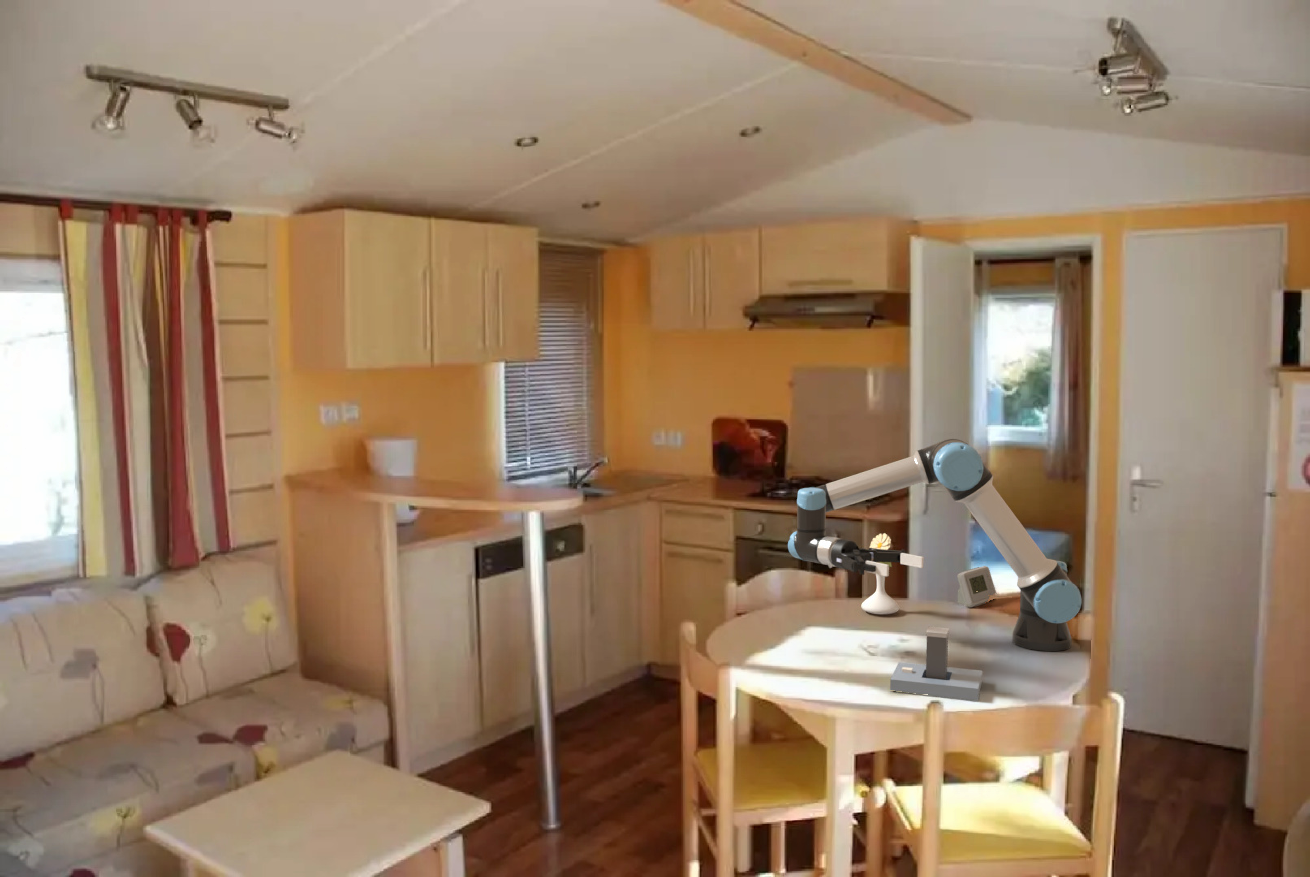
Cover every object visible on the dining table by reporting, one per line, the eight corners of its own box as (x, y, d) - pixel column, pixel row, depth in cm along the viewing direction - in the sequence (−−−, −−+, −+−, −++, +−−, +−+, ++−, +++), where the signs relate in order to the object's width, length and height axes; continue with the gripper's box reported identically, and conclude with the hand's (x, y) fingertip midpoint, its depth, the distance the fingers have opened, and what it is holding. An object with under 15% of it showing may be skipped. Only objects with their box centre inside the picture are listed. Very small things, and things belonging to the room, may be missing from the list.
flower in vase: (856, 608, 330) (857, 528, 327) (892, 607, 331) (893, 527, 329) (869, 619, 317) (870, 536, 314) (906, 618, 318) (908, 535, 316)
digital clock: (968, 609, 328) (969, 575, 327) (946, 603, 336) (947, 570, 334) (1005, 602, 336) (1006, 569, 335) (983, 596, 344) (983, 563, 343)
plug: (947, 685, 259) (949, 628, 257) (945, 691, 254) (946, 633, 253) (927, 682, 260) (928, 626, 259) (924, 689, 256) (926, 632, 255)
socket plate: (981, 682, 260) (982, 667, 260) (977, 701, 247) (978, 685, 247) (898, 673, 267) (898, 659, 267) (890, 691, 254) (890, 676, 254)
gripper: (869, 560, 287) (936, 573, 270) (806, 574, 271) (872, 589, 255) (870, 532, 286) (936, 544, 270) (806, 545, 270) (872, 558, 254)
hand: (905, 566), depth 262 cm, fingers open, 13 cm apart
